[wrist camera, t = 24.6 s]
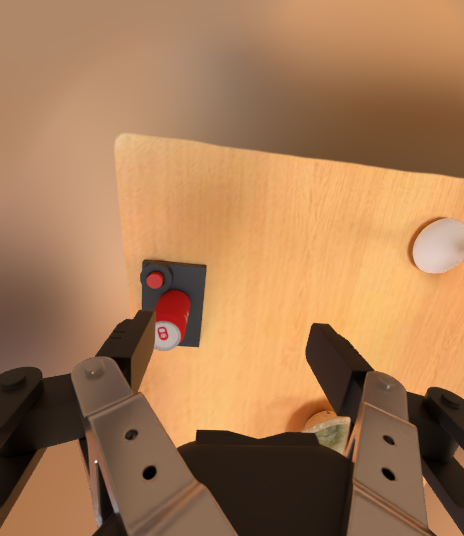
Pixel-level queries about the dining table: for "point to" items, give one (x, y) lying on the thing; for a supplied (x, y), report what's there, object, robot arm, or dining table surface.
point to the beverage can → (171, 319)
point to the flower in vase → (440, 246)
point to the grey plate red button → (181, 279)
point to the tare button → (155, 279)
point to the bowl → (329, 429)
